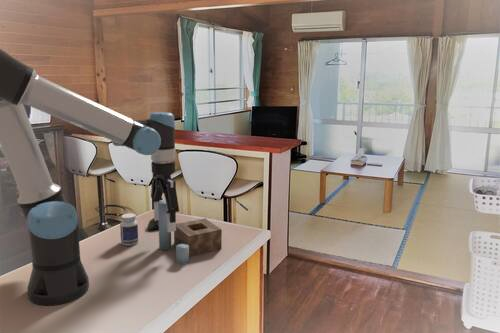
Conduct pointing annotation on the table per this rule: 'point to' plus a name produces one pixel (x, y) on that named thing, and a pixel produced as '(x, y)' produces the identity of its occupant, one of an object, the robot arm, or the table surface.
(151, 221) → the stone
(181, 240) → the sleeve block
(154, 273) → the table surface
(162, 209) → the long dowel
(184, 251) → the grey rounded cylinder
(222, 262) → the table surface
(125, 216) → the pill bottle
